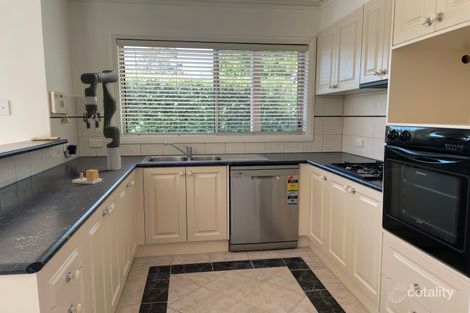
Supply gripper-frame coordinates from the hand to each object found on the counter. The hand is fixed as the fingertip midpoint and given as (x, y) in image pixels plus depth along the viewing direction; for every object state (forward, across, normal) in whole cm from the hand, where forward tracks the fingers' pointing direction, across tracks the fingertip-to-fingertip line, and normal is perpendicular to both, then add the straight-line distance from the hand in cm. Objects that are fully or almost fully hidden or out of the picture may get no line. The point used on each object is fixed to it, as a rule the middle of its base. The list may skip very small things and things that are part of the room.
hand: (92, 128), depth 216 cm
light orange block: (+32, +17, +10) cm, 37 cm away
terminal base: (+33, +17, +6) cm, 37 cm away
